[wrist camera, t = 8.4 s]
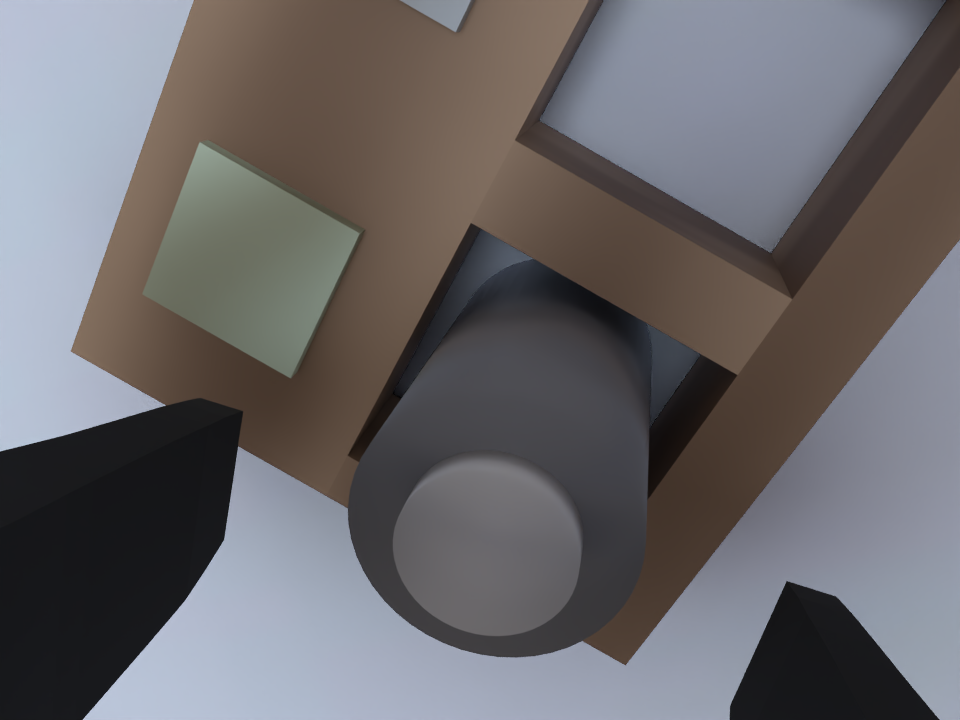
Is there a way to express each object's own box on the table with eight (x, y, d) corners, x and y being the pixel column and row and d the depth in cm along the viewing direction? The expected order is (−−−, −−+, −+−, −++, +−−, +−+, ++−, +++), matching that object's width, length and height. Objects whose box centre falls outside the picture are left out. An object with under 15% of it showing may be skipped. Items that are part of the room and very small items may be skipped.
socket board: (1419, -484, 12) (1675, -655, 9) (630, 575, 20) (624, 675, 17) (635, -945, 12) (627, -1275, 9) (153, 305, 20) (60, 356, 17)
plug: (677, 288, 17) (687, 465, 10) (620, 465, 19) (595, 723, 12) (478, 234, 18) (361, 372, 11) (438, 412, 19) (311, 634, 12)
